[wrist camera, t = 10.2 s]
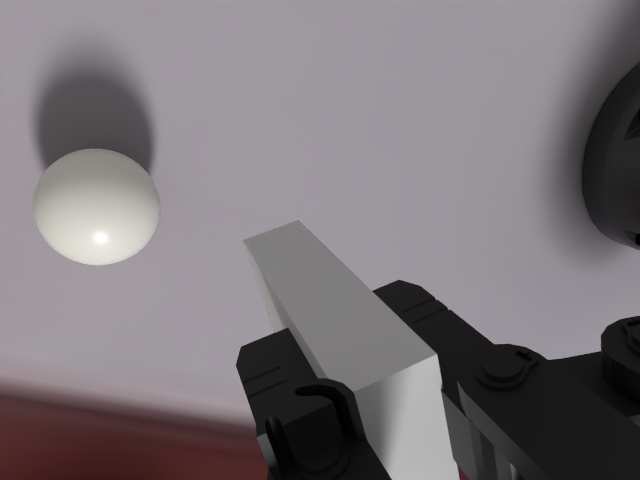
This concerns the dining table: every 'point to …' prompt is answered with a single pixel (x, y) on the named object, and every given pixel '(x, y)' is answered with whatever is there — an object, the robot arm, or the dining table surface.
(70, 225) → the cue ball
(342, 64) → the dining table surface
